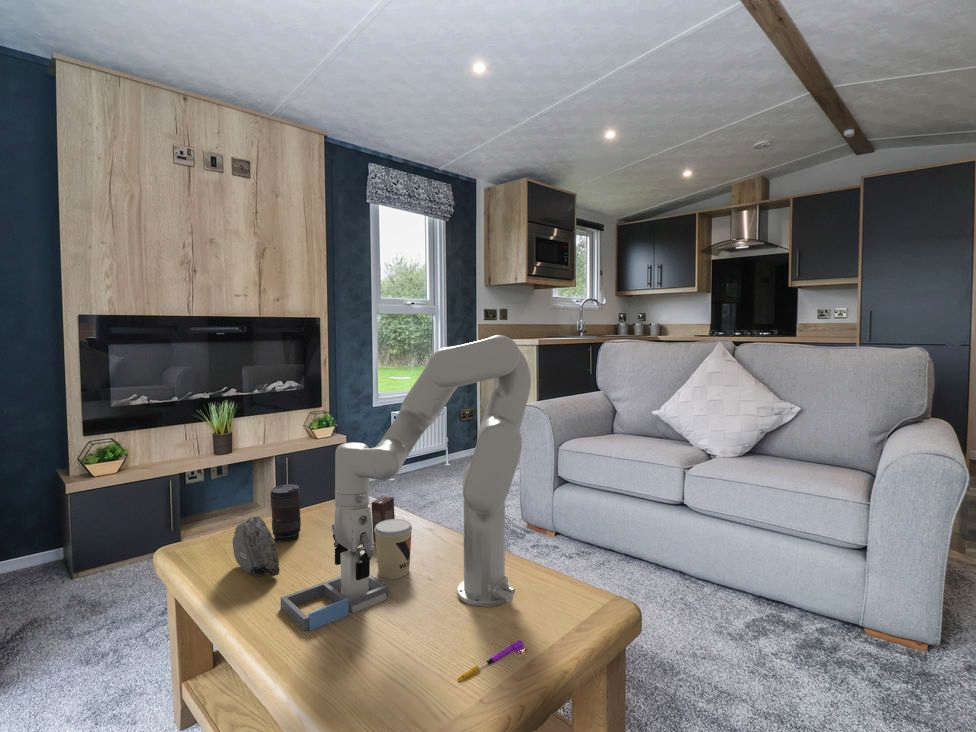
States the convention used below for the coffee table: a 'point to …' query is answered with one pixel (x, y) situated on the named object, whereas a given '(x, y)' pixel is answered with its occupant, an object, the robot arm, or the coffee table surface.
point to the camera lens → (285, 512)
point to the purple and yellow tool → (493, 659)
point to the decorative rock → (255, 548)
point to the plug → (351, 576)
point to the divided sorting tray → (339, 605)
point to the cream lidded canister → (393, 547)
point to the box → (382, 511)
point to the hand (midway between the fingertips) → (351, 570)
